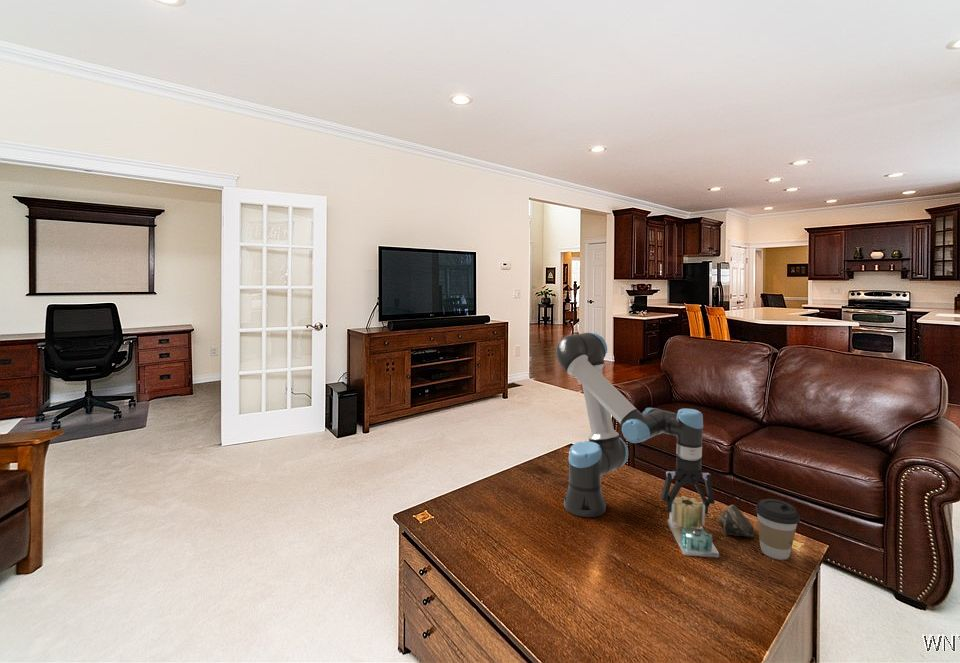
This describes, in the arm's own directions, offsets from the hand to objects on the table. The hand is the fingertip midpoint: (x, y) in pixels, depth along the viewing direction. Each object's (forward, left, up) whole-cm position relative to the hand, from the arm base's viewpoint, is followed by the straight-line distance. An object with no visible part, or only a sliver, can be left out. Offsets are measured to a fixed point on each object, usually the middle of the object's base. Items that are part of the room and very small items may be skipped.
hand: (686, 521), depth 145 cm
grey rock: (+11, +13, -4) cm, 17 cm away
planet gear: (0, 0, 0) cm, 0 cm away
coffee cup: (+23, +10, -3) cm, 25 cm away
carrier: (+4, -3, -3) cm, 6 cm away
